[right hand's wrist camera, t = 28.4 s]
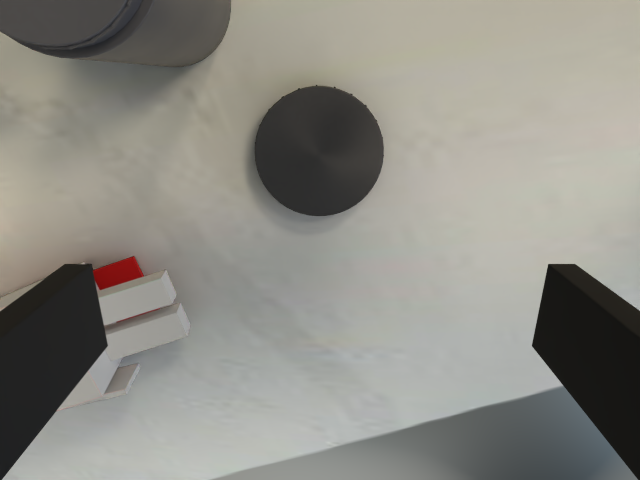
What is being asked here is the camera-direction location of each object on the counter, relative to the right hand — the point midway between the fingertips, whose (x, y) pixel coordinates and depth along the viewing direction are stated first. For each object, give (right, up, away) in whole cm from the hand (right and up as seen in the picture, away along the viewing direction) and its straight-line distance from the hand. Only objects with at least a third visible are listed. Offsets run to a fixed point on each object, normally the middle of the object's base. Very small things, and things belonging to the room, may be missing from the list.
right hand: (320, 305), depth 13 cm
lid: (0, +10, +26) cm, 28 cm away
